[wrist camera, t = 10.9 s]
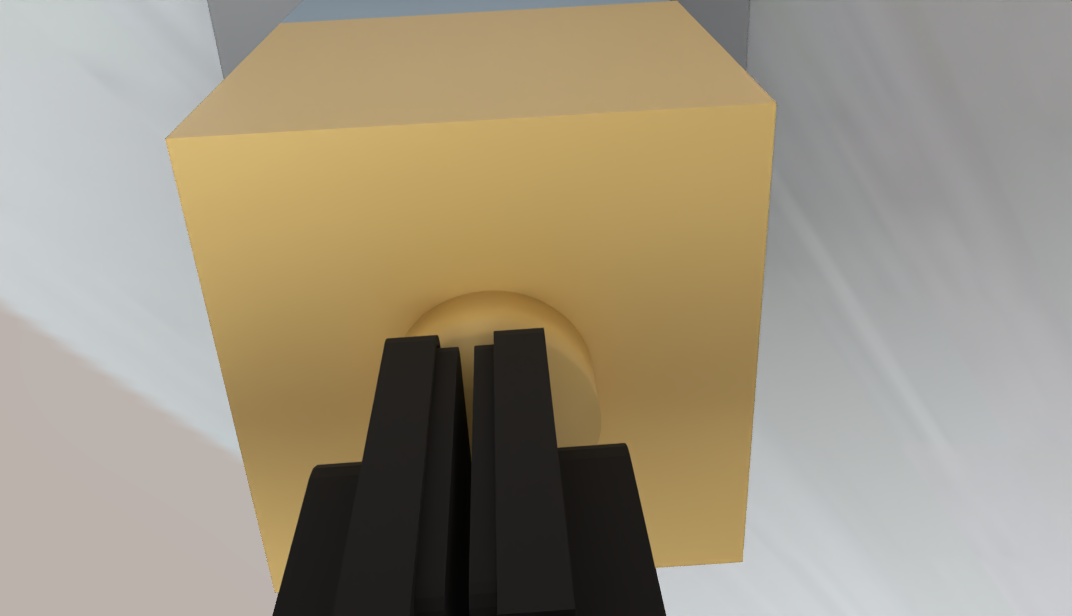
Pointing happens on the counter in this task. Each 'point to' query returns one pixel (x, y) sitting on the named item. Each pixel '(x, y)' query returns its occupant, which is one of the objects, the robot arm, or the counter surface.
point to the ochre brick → (491, 239)
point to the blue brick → (423, 7)
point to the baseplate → (263, 3)
